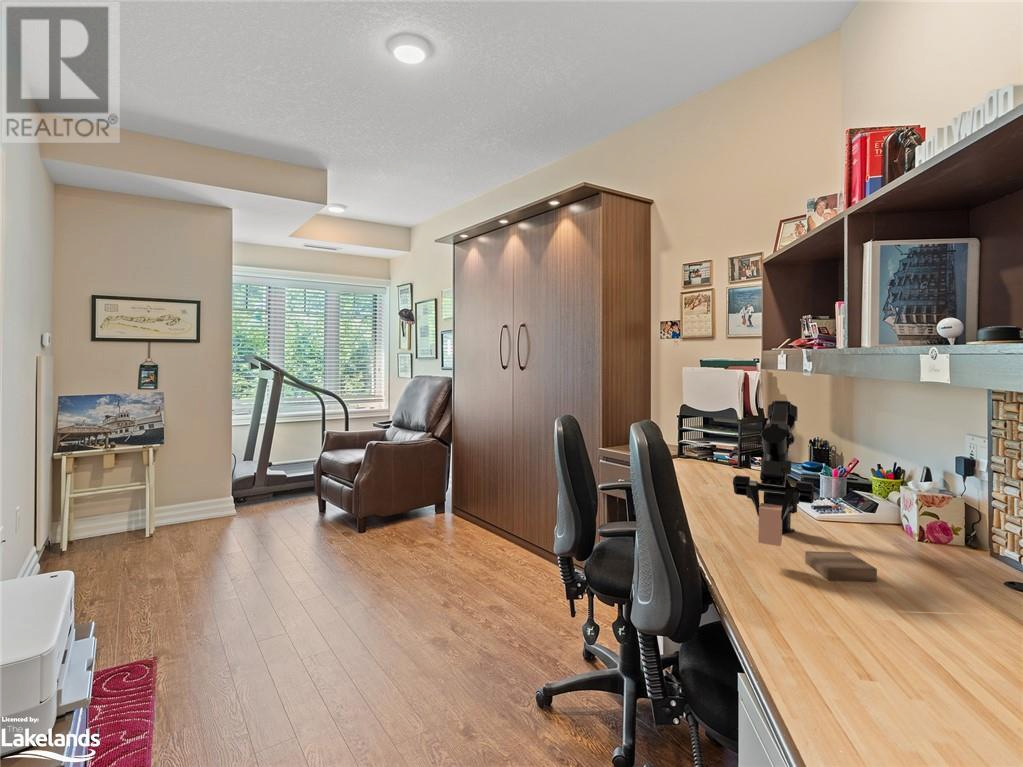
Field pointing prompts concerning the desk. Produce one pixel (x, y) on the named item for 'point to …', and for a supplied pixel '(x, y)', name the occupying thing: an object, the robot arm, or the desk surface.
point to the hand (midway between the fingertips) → (770, 517)
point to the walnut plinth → (840, 566)
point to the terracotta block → (770, 524)
